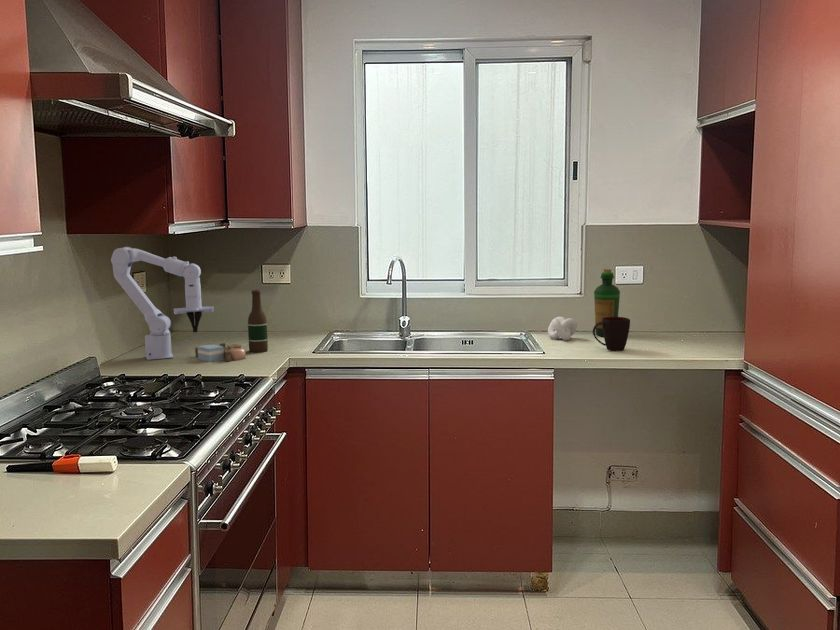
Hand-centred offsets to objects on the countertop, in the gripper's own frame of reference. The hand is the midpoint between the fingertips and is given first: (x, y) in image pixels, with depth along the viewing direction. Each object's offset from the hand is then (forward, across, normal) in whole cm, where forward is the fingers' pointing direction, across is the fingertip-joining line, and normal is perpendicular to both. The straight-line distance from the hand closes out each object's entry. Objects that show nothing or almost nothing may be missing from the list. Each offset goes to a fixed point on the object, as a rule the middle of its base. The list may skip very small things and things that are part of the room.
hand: (195, 331), depth 305 cm
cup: (+10, +149, -51) cm, 158 cm away
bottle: (+10, +165, -22) cm, 167 cm away
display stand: (+9, +6, -8) cm, 14 cm away
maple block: (+10, +14, -4) cm, 17 cm away
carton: (+10, +5, -8) cm, 14 cm away
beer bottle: (+10, +24, +1) cm, 26 cm away
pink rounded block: (+10, +14, -11) cm, 20 cm away
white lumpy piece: (+10, +144, -21) cm, 146 cm away
